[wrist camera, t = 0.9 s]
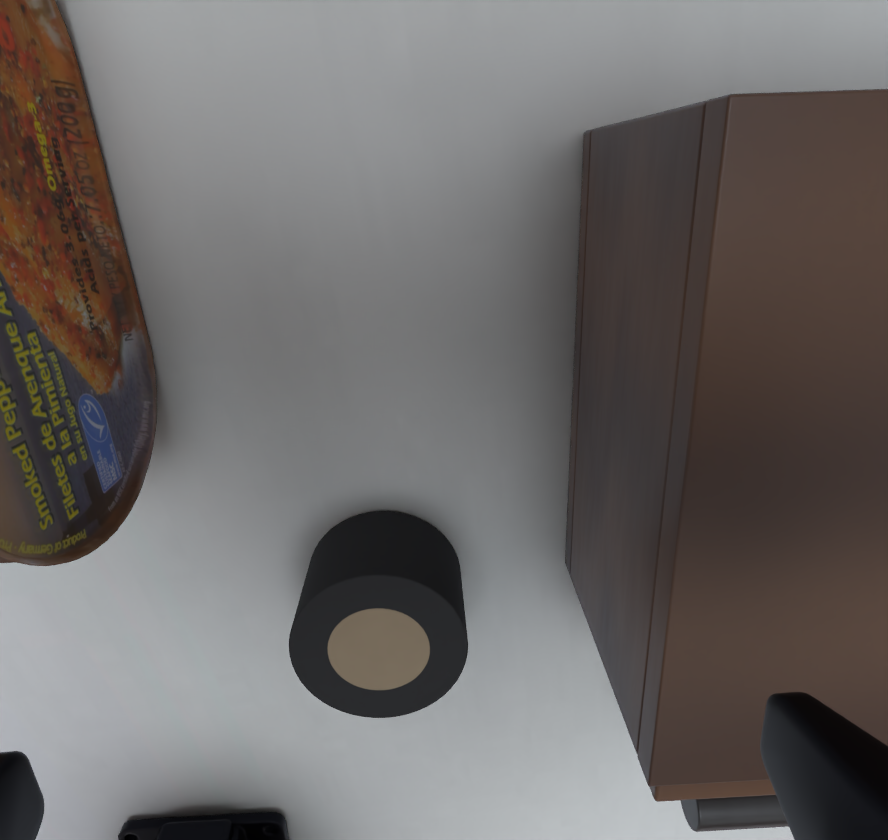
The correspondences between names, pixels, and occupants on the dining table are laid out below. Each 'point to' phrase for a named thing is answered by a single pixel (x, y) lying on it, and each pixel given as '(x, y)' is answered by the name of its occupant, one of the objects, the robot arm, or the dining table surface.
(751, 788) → the drawer
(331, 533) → the tape
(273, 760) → the dining table surface
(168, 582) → the dining table surface
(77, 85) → the tin
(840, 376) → the cabinet
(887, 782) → the robot arm
